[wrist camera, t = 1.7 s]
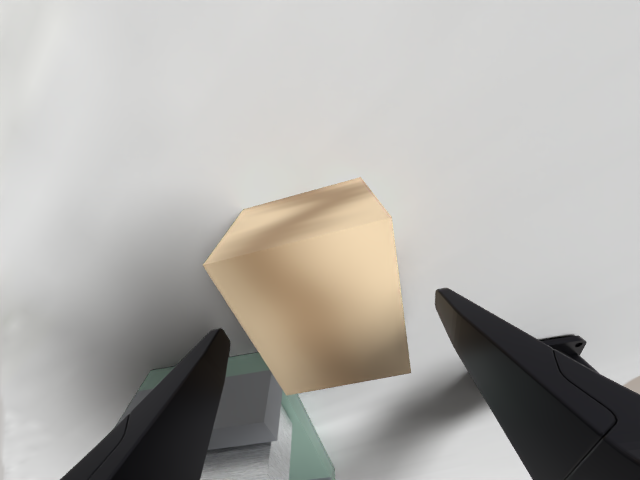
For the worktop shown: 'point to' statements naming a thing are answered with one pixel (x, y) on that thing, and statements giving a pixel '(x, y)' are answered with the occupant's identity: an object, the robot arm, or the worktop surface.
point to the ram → (252, 458)
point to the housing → (317, 287)
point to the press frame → (257, 415)
